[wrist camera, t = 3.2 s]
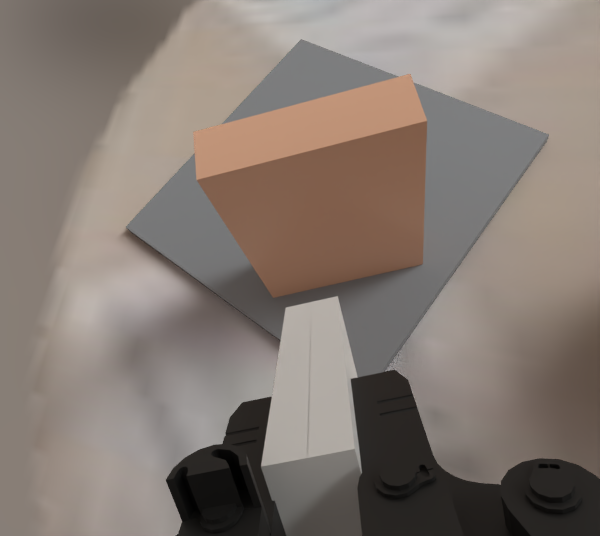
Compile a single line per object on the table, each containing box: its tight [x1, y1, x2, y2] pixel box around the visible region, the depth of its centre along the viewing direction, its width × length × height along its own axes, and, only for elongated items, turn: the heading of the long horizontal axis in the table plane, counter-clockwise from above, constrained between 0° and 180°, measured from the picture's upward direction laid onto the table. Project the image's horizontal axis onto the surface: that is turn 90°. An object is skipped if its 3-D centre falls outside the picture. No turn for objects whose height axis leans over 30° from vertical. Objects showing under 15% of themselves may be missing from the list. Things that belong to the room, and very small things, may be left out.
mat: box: [126, 39, 549, 377], centre depth 33 cm, size 20×20×1 cm
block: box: [193, 74, 427, 298], centre depth 25 cm, size 3×9×12 cm, turn 99°
